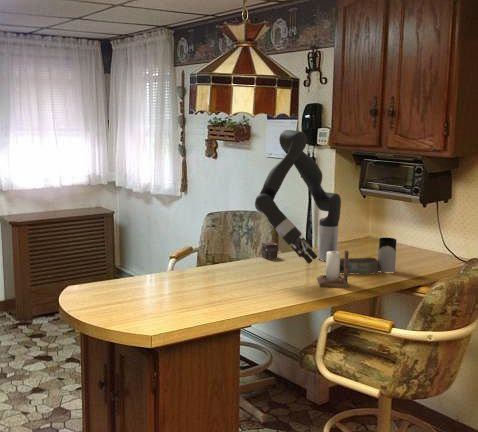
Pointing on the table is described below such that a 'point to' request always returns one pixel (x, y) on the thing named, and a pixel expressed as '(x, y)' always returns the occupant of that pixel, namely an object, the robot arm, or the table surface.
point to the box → (269, 250)
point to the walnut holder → (342, 280)
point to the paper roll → (332, 266)
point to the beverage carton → (360, 265)
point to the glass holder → (387, 254)
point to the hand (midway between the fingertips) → (313, 260)
